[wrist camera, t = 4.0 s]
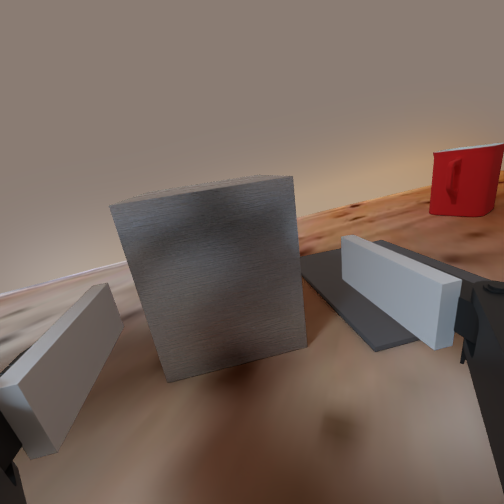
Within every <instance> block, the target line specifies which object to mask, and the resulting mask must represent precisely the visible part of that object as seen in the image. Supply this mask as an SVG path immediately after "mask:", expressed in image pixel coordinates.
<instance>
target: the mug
mask: <svg viewBox="0 0 504 504" xmlns="http://www.w3.org/2000/svg"><path fill="white" fill-rule="evenodd" d="M503 152H504V143H496V144H488V145H480V146H471V147H463V148H454V149H447V150H442V151H438V152H434V153H433V155H434V166H433V177H432V187H431V198H430V209H429V213H430V214H433V215H447V216H465V217H479V216H484V215H486V214H487V213H488V212H490V211H491V210H492V209H493V208H494V203H495V198H496V192H497V186H498V181H499V175H500V169H501V164H502V158H503Z"/></svg>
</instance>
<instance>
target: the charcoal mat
mask: <svg viewBox="0 0 504 504" xmlns="http://www.w3.org/2000/svg"><path fill="white" fill-rule="evenodd" d="M372 243H375V244H377V245H379V246H382V247H384V248H387V249H389V250H392V251H394V252H396V253H399V254H401V255H404V256H406V257H408V258H411V259H413V260H416V261H418V262H421V263H426V264H428V265H431V266H433V267H435V268H436V269H440V270H443V271H445V273H446V272H448V273H450V274H452V275H455V276H457V277H460V278H462V279H465V280H467V281H470V282H472V283H475V282H478V281H491V280H489V279H486V278H483V277H481V276H478V275H475V274H472V273H470V272H467V271H464V270H462V269H459V268H456V267H454V266H451V265H448V264H445V263H443V262H440V261H437V260H435V259H432V258H429V257H427V256H424V255H421V254H419V253H416V252H413V251H410V250H408V249H405V248H402V247H400V246H397V245H394V244H392V243H389V242H386V241H383V240H379V241H374V242H372ZM300 266H301V275H302V277H303V278H304V279H305V280H306V281H307V282H308V283H309V284H310V285H311V286H312V287H313V288H314V289H315V290H316V291H317V292H318V293H319V294H320V295H321V296H322V297H323V298H324V299H325V300H326V301H327V302H328V303H329V304H330V305H331V307H332V308H333V309H334V310H335V311H336V312H337V313H338V314H339V315H340V316H341V317H342V318H343V319H344V320H345V321H346V322H347V323H348V324H349V325H350V326H351V327H352V328H353V329H354V330H355V331H356V332H357V333H358V334H359V336H360V337H361V338H362V339H363V340H364V341H365V342H366V343H367V344H368V345H369V346H370V347H371V348H372V349H373V350H374V351H375V352H376V351H380V350H384V349H387V348H391V347H395V346H398V345H402V344H406V343H410V342H413V341H417V340H420V339H419V338H418V337H416V336H415V335H414V334H412V333H411V332H410V331H409V330H407V329H406V328H405V327H403V326H402V325H401V324H400V323H398V322H397V321H396V320H394V319H393V318H392V317H390V316H389V315H388V314H387V313H385V312H384V311H383V310H381V309H380V308H379V307H378V306H376V305H375V304H374V303H372V302H371V301H370V300H369V299H367V298H366V297H365V296H363V295H362V294H361V293H360V292H358V291H357V290H356V289H354V288H353V287H352V286H350V285H349V284H348V283H347V282H345V281H344V280H343V279H342V254H341V249H336V250H331V251H326V252H321V253H316V254H312V255H307V256H302V257H300Z"/></svg>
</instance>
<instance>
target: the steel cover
mask: <svg viewBox="0 0 504 504" xmlns="http://www.w3.org/2000/svg"><path fill="white" fill-rule="evenodd" d="M109 208H110V211H111V214H112V217H113V220H114V223H115V226H116V229H117V232H118V235H119V238H120V241H121V244H122V247H123V250H124V253H125V256H126V259H127V262H128V265H129V268H130V271H131V274H132V277H133V280H134V283H135V286H136V289H137V292H138V295H139V298H140V301H141V304H142V307H143V310H144V313H145V316H146V319H147V322H148V326H149V329H150V332H151V335H152V338H153V341H154V344H155V347H156V350H157V353H158V356H159V359H160V362H161V365H162V368H163V371H164V374H165V377H166V380H167V383H169V382H173V381H177V380H181V379H185V378H189V377H193V376H196V375H200V374H204V373H208V372H212V371H216V370H220V369H224V368H227V367H231V366H235V365H239V364H243V363H247V362H251V361H255V360H258V359H262V358H266V357H270V356H274V355H278V354H282V353H286V352H289V351H293V350H297V349H301V348H305V347H307V336H306V324H305V313H304V301H303V289H302V277H301V266H300V254H299V242H298V231H297V219H296V207H295V195H294V184H293V176H271V175H270V176H269V175H255V176H249V177H241V178H236V179H229V180H222V181H216V182H210V183H204V184H197V185H191V186H184V187H178V188H172V189H165V190H159V191H152V192H147V193H145V194H142V195H139V196H136V197H133V198H130V199H127V200H124V201H121V202H118V203H115V204H112V205H110V206H109Z"/></svg>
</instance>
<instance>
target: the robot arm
mask: <svg viewBox="0 0 504 504" xmlns="http://www.w3.org/2000/svg"><path fill="white" fill-rule="evenodd" d="M341 254H342V279H343V280H344V281H345V282H347V283H348V284H349V285H350V286H352V287H353V288H354V289H356V290H357V291H358V292H360V293H361V294H362V295H363V296H365V297H366V298H367V299H369V300H370V301H371V302H372V303H374V304H375V305H376V306H378V307H379V308H380V309H381V310H383V311H384V312H385V313H387V314H388V315H389V316H390V317H392V318H393V319H394V320H396V321H397V322H398V323H400V324H401V325H402V326H403V327H405V328H406V329H407V330H409V331H410V332H411V333H412V334H414V335H415V336H416V337H418V338H419V339H420V340H421V341H423V342H424V343H425V344H427V345H428V346H429V347H430V348H432V349H433V350H434V351H435V350H438V349H442V348H446V347H449V346H452V345H453V338H454V331H455V332H456V333H458V334H459V335H461V336H463V337H464V342H463V348H462V354H461V360H460V363H461V364H464V362H465V360H467V363H468V367H469V371H470V374H471V378H472V381H473V385H474V389H475V392H476V396H477V399H478V403H479V406H480V410H481V414H482V417H483V421H484V424H485V428H486V432H487V435H488V439H489V442H490V446H491V450H492V453H493V457H494V460H495V464H496V467H497V471H498V475H499V478H500V482H501V485H502V489H503V493H504V282H499V281H478V282H475V283H472V282H470V281H467V280H465V279H462V278H460V277H457V276H455V275H452V274H450V273H448V272H446V273H445V271H443V270H440V269H436V268H435V267H433V266H431V265H428V264H426V263H421V262H418V261H416V260H413V259H411V258H408V257H406V256H404V255H401V254H399V253H396V252H394V251H392V250H389V249H387V248H384V247H382V246H379V245H377V244H375V243H372V242H370V241H367V240H365V239H363V238H360V237H358V236H355V235H348V236H343V237H341ZM123 328H124V325H123V322H122V320H121V317H120V314H119V312H118V309H117V306H116V303H115V301H114V298H113V295H112V293H111V290H110V287H109V285H108V283H104V284H99V285H94V286H92V287H91V288H90V289H89V290H88V291H87V292H86V293H85V294H84V295H83V296H82V297H81V298H80V299H79V300H78V301H77V302H76V303H75V304H74V305H73V306H72V307H71V308H70V309H69V310H68V311H67V312H66V313H65V314H64V315H63V316H62V317H61V318H60V319H59V320H58V321H57V322H56V323H55V324H54V325H52V326H51V327H50V328H49V329H48V330H47V331H46V332H45V333H44V334H43V335H42V336H41V337H40V338H39V339H38V340H37V341H36V342H35V343H34V344H33V345H32V346H31V347H29V348H28V349H27V350H25V351H24V352H22V353H21V354H19V355H18V356H17V357H16V358H15V359H14V360H13V361H12V362H11V363H10V364H9V366H8V367H6V368H5V369H4V370H3V371H2V372H1V373H0V504H27V503H26V499H25V495H24V491H23V487H22V483H21V479H20V475H19V471H18V468H17V466H16V465H15V463H14V462H13V459H14V457H15V456H16V454H17V453H18V451H19V450H20V448H21V447H23V449H24V450H25V452H26V453H27V455H28V457H29V458H30V460H32V459H35V458H39V457H43V456H46V455H50V454H54V453H58V451H59V449H60V447H61V445H62V443H63V441H64V439H65V438H66V436H67V434H68V432H69V430H70V428H71V426H72V424H73V422H74V421H75V419H76V417H77V415H78V413H79V411H80V409H81V407H82V405H83V404H84V402H85V400H86V398H87V396H88V394H89V392H90V390H91V388H92V387H93V385H94V383H95V381H96V379H97V377H98V375H99V373H100V371H101V370H102V368H103V366H104V364H105V362H106V360H107V358H108V356H109V354H110V353H111V351H112V349H113V347H114V345H115V343H116V341H117V339H118V337H119V336H120V334H121V332H122V330H123Z"/></svg>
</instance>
